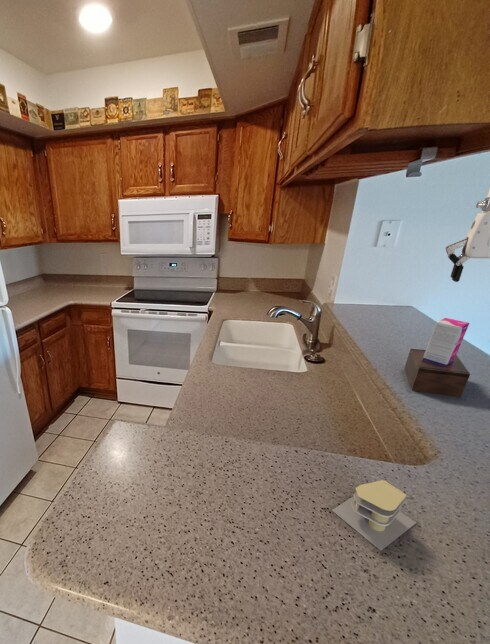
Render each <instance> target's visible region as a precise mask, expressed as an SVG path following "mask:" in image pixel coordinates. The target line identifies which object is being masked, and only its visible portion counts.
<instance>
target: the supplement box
mask: <svg viewBox="0 0 490 644" xmlns="http://www.w3.org/2000/svg"><path fill="white" fill-rule="evenodd" d="M469 326H470V322H467V321H462V320H457V319H453V318H448V317H444V318H442V319H440V320H438V321H436V322H435V324H434V328H433V330H432V333H431V335H430V338H429V341H428V344H427V345H426V349H425V350H426V351H425V354H424V357H423V360H426V361H429V362H433V363H436V364H439V365H443V366H446V365H447V364H449V363H450V362H452V361H454V359H455V356H456V355H457V354H458V351H459V349H460V347H461V344H462V343H463V340H464V337H465V335H466V333H467V330H468V328H469Z"/></svg>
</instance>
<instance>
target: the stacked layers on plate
mask: <svg viewBox="0 0 490 644" xmlns="http://www.w3.org/2000/svg"><path fill="white" fill-rule="evenodd" d="M406 497H407V494H406V493H405V492H404V491H402V490H400V489H398V488H397V487H395V486H394V485H392V484H391V483H389V482H387V481H386V480H384V479H381V480H377V481H376V480H375V481H372V482H367V483H363V484H359V485H358V486H357V487H356V486H355V492H353V496H351V497H350V498H349V499H347V500H345V501H344V502H342V503H341V504H338V505H337V506H336V507H334V508H333V509H331V511H332V513H334V514H335V515H336V516H338V517H339V518H340V519H341V520H342V521H343V522H345V523H346V524H347V525H349V526H350V527H351V528H352V529H353V530H355V531H356V532H357V533H359V534H360V535H361V536H362V537H364V539H366V540H367V542H369V543H371V544H372V545H373V546H375V548H377V549H378V550H379V551H383V550H385V548H387V547H388V546H389V545H390V544H392V543H393V542H394V541H396V540H397V539H398V538H400V537H401V536H402V535H403V534H404V533H406V532H407V531H408V530H410V529H411V528H412V527H414V526H415V525H416V524H417V521H415V520H413V518H411V517H409V516H408V515H406V514H404V513H403V512H402V511H401V510H402V508H401V507H402V505H403V504H404V503H405V498H406Z"/></svg>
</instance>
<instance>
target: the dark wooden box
mask: <svg viewBox="0 0 490 644" xmlns="http://www.w3.org/2000/svg"><path fill="white" fill-rule="evenodd" d="M425 351H426V349H417V348H410V349H409V353H408V355H407V359H406V361H405V366H404V369H403V370H404V374H405V377H406V378H407V381H408V384H409V387H410V389H411V391H414V392H421V393H428V394H434V395H441V396H448V397H456V398H461V397H462V395H463V393H464V391H465V388H466V386H467V383H468V381H469V378H470V376H471V373H470V371H469V370H468V369H467V367H466V366H465V365H464V363H463V362H462V360H461V359H460V357H459V356H458V355H457V354H456V356H455V359H454V361H452V362H450V363H449V364H447V365H446V366H443V365H439V364H436V363H433V362H429V361H426V360H423V357H424V354H425Z"/></svg>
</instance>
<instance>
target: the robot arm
mask: <svg viewBox="0 0 490 644" xmlns="http://www.w3.org/2000/svg"><path fill="white" fill-rule="evenodd" d="M475 205H476V206H475V209H481V212H478V213H477V215H476V216H475V218H474V220H473V221H472V224H471V226H470V228H469V231H468V232H467V234H466V237H465V238H464V239H462V240H459V241H457V242H454V243H452V244H449V245H447V246H446V247H445V252H446V254H447V258H448V259H449V260H450V261H451V262H452V264H453V266H452V270H451V273H450V278H451V281H453V282H455V283H458V282H460V279H461V276H462V273H463V270H464V267H465V266H464V265H463V264H465V262H467V261H468V260H470V259H490V188H489V189H488V193H487V195H486V198H484V200H481V201H477V203H476V204H475ZM459 248H461V254H459V256H457V255H456V253H455V251H456V250H457V249H459Z"/></svg>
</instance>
